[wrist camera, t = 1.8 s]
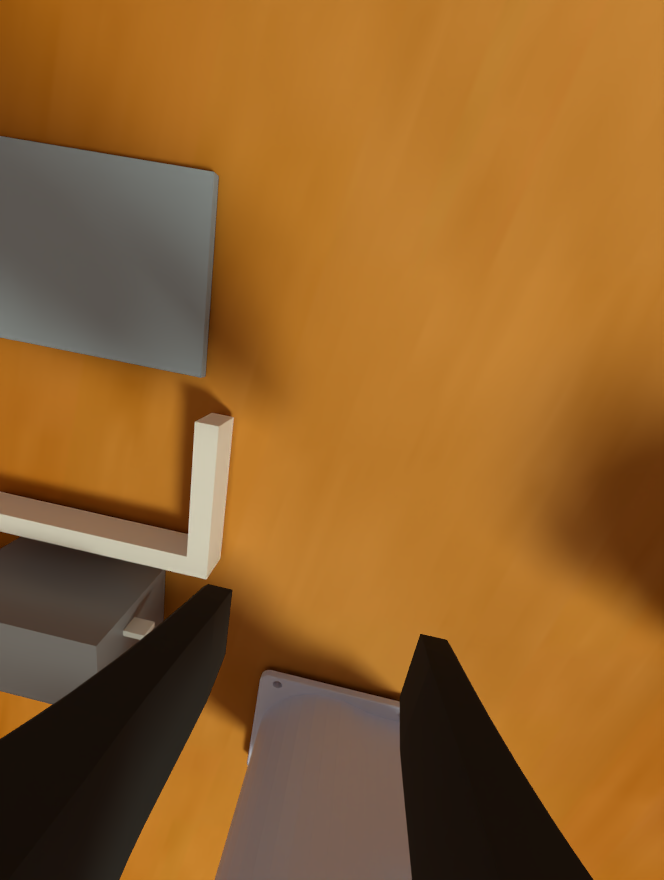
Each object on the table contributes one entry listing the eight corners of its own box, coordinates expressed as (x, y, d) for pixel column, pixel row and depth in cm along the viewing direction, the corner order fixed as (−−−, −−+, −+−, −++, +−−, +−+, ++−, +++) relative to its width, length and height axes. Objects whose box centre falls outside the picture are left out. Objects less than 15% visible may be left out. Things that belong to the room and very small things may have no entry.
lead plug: (183, 571, 19) (119, 652, 14) (180, 629, 20) (120, 721, 16) (-61, 514, 20) (-199, 574, 15) (-50, 574, 21) (-174, 646, 16)
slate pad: (218, 176, 13) (213, 172, 13) (205, 376, 16) (201, 377, 15) (-54, 130, 14) (-66, 125, 14) (-28, 329, 16) (-37, 329, 16)
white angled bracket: (233, 417, 16) (218, 426, 14) (220, 558, 18) (206, 579, 17) (-18, 365, 17) (-58, 369, 15) (0, 508, 19) (-33, 524, 17)
